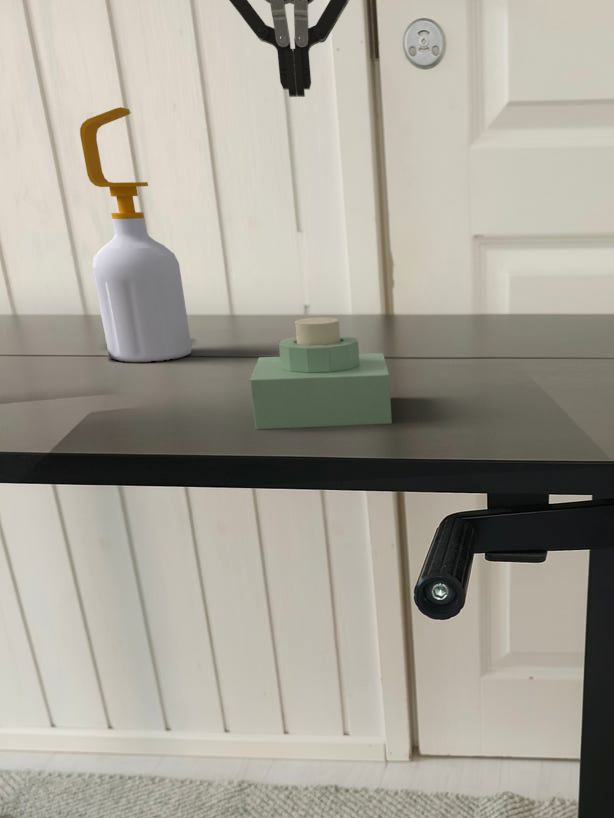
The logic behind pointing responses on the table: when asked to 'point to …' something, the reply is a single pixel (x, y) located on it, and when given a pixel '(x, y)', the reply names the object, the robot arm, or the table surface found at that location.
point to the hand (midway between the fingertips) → (297, 95)
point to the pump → (317, 331)
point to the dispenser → (320, 386)
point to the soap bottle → (135, 273)
